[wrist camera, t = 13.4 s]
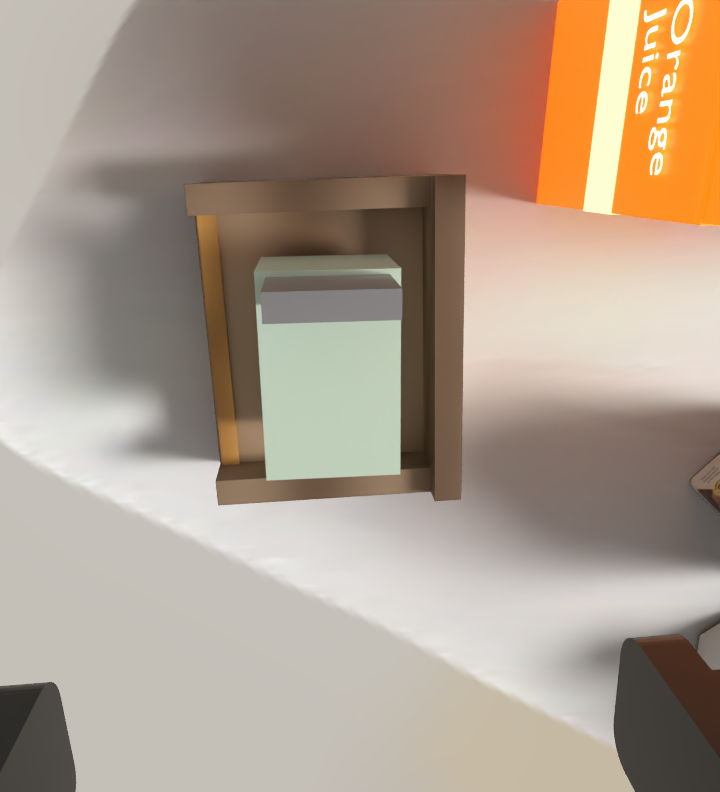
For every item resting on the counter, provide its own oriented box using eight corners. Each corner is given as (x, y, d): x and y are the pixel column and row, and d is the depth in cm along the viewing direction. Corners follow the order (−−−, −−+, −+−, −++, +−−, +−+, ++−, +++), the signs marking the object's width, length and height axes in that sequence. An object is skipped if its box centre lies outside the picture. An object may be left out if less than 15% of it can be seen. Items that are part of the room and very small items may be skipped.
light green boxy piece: (381, 249, 31) (415, 281, 22) (382, 419, 33) (412, 512, 24) (263, 252, 30) (246, 285, 21) (273, 424, 33) (261, 520, 24)
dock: (437, 174, 33) (465, 174, 27) (436, 448, 37) (460, 499, 31) (201, 182, 32) (179, 184, 26) (229, 461, 36) (215, 515, 31)
